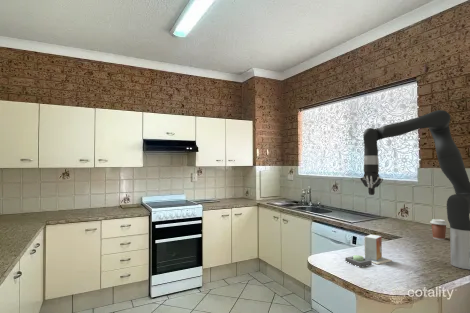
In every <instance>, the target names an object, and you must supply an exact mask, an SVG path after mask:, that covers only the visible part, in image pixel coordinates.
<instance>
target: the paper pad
mask: <svg viewBox="0 0 470 313" xmlns="http://www.w3.org/2000/svg"><path fill="white" fill-rule="evenodd" d="M363 258H365V256H363ZM366 259H367V258H366ZM369 260H372V259H369ZM392 261H393V260H392V259H391V258H390V259H389V258H387V257H383V256H382V257H381V258H380V259H378V260H377V261H376V260H372V264H374V265H377V266H378V265H382V264H385V263H386V264H387V263H389V262H392Z"/></svg>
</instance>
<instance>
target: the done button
mask: <svg viewBox="0 0 470 313" xmlns="http://www.w3.org/2000/svg"><path fill="white" fill-rule="evenodd" d="M352 256H353V259H354V260H357V261H363V256H362V255H359V254H356V255H355V254H354V255H352Z"/></svg>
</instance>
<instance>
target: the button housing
mask: <svg viewBox="0 0 470 313" xmlns="http://www.w3.org/2000/svg"><path fill="white" fill-rule="evenodd" d="M353 256H354V255H352V256H348V257H345V258H344V259H345V261H347V262H349V263H348V264H350V263H351V264H350V265H352V264H354V265H353V266H355V265H356V267H357V266H359V267H358V268H363V267H362V266H364V267H367V266H366V265H368V266H371V265H372V264H373V263H372V260H369V259H366V258H363V261H357V260H354V259H353ZM347 262H346V263H347Z"/></svg>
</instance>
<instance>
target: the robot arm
mask: <svg viewBox="0 0 470 313" xmlns="http://www.w3.org/2000/svg"><path fill="white" fill-rule="evenodd" d="M450 121H451V115H450V113H449V112H448V111H446V110H442V109H440V110H439V109H438V110H434V111H432V112H428V113H426V114H424V115H421V116H417V117H414V118H411V119H410V118H409V119H407V120H404V121H400V122H395V123H389V124H386V125H383V126H381V127H378V128H374V127H368V128H366V129H365V130H364V131H363V146H364V147H363V154H364V155H363V172H364V174H363V176H362V177H360V178H359V179H360V181H361V182H362V183H363V185H364V187H365V188H368V189H367V190H368V195H370V196H374V195H375V192H376V191H375V188H378V187H379V186H380V185H381V183H382V182H383V180H384V178H383V177H380V175H379V172H380V168H379V167H380V166H379V164H380V163H379V148H378V141H380V140H384V139H389V138H393V137H397V136H403V135H406V134H408V133H411V132H413V131H417V130H419V129H420V130H421V129H426V128H428V129H429V131H430V134H431V136H432V139H433V143H434V146H435V152H436V156H437V160H438V161H437V162H438V163H439V167H440V169H441V172H442V173H443V174H444V176H445V177H446V178H447V179H448V180H449V183H451V184H452V187H453V189H454V192H455V194H451V195H449V197H447V200H446V215H447V221H448V224H449V240H450V242H449V244H450V246H449V248H450V265H452V266H453V267H455V268H459V269H463V270H469V271H470V178H469V175H468V173H467V172H468V171H467V170H466V167H465V164H464V163H465V162H464V160H463V157H462V154H461V152H460V150H459V147H458V146H457V145H456V143H455V141H454V140H453V137H452V134H451V129H450V123H451V122H450Z"/></svg>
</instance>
